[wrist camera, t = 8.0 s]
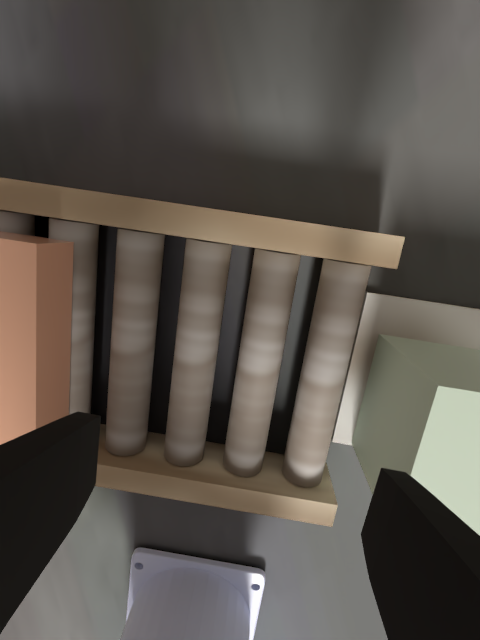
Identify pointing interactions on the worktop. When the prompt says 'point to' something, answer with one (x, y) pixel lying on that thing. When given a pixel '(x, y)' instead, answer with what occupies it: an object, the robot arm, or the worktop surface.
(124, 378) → the roller bed
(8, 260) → the slab
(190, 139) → the worktop surface
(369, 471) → the block
